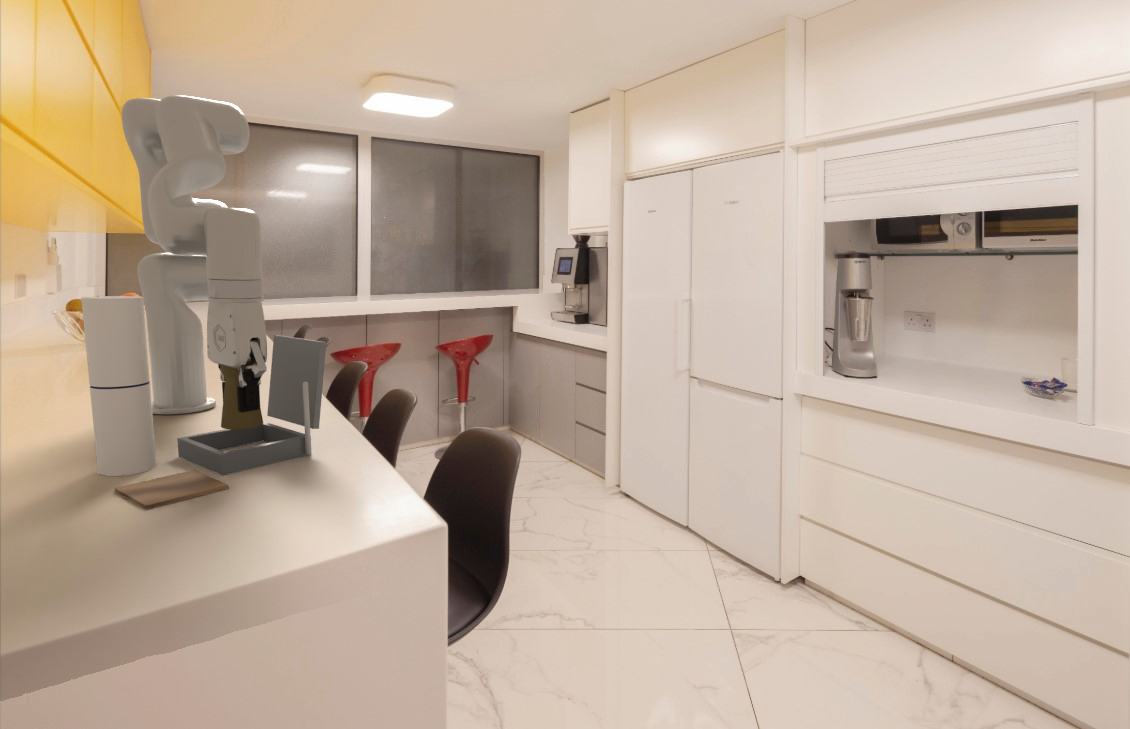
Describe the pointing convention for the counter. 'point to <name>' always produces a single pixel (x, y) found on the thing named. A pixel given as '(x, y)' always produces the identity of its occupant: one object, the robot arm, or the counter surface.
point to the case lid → (296, 379)
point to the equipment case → (277, 449)
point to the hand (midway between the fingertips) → (241, 406)
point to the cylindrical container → (119, 384)
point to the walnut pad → (170, 489)
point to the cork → (236, 403)
